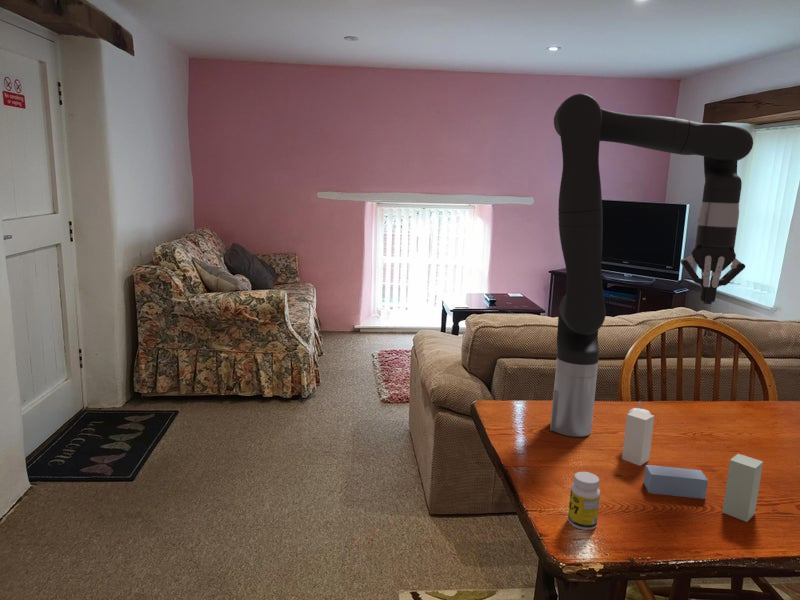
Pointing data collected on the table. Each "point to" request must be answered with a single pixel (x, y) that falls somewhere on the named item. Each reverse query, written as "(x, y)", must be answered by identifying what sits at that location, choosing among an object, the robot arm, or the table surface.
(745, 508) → the sage block
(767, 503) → the table surface
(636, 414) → the cream block
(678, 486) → the slate blue block
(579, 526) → the supplement bottle
